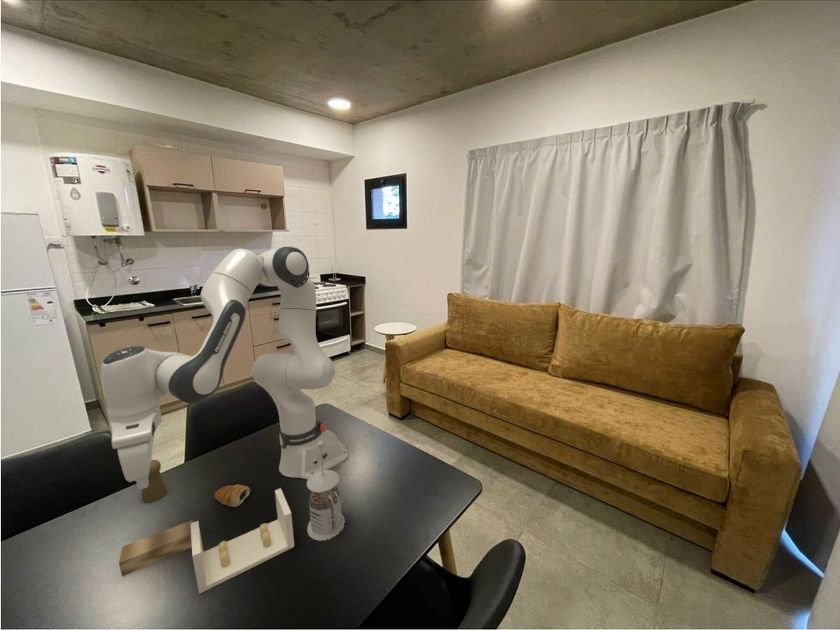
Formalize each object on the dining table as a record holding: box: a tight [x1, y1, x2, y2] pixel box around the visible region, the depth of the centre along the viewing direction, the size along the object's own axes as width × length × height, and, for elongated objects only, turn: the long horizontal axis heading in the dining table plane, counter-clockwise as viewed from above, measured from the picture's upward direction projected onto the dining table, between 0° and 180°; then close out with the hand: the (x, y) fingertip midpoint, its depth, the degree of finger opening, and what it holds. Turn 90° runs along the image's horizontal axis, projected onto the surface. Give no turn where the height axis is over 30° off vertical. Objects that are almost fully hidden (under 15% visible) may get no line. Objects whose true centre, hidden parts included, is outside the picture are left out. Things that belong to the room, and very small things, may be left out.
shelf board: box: [118, 519, 194, 577], centre depth 82 cm, size 14×5×4 cm, turn 124°
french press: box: [306, 441, 346, 542], centre depth 87 cm, size 10×12×25 cm
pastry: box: [214, 483, 251, 508], centre depth 100 cm, size 9×7×4 cm
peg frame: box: [191, 487, 295, 595], centre depth 82 cm, size 20×10×10 cm, turn 125°
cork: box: [141, 459, 168, 504], centre depth 99 cm, size 6×6×11 cm
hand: (145, 475), depth 78 cm, fingers open, 8 cm apart
